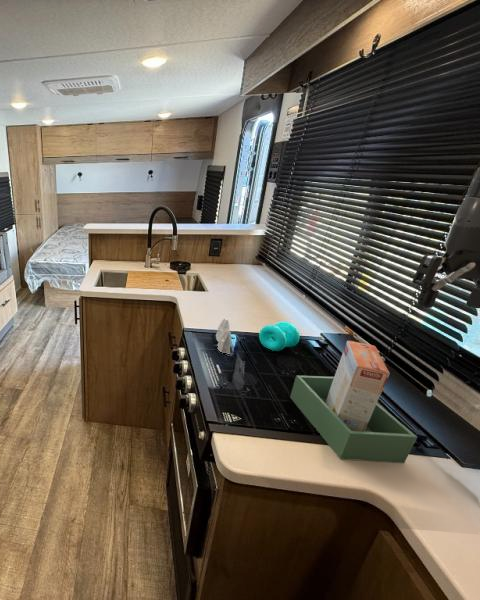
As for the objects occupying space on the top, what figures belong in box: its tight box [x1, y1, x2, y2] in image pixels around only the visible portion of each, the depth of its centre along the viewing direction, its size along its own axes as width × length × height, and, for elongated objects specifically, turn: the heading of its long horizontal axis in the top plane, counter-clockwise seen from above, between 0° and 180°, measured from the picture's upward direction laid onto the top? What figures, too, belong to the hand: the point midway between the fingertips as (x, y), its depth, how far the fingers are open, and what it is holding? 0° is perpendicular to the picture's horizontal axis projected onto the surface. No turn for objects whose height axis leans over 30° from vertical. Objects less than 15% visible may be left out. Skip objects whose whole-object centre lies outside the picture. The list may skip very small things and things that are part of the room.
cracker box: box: [325, 340, 390, 432], centre depth 76 cm, size 14×6×21 cm, turn 148°
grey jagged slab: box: [215, 317, 232, 355], centre depth 116 cm, size 12×4×11 cm, turn 163°
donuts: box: [258, 320, 301, 352], centre depth 115 cm, size 10×10×10 cm
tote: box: [289, 375, 418, 464], centre depth 79 cm, size 14×22×8 cm, turn 174°
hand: (448, 306), depth 60 cm, fingers open, 8 cm apart
